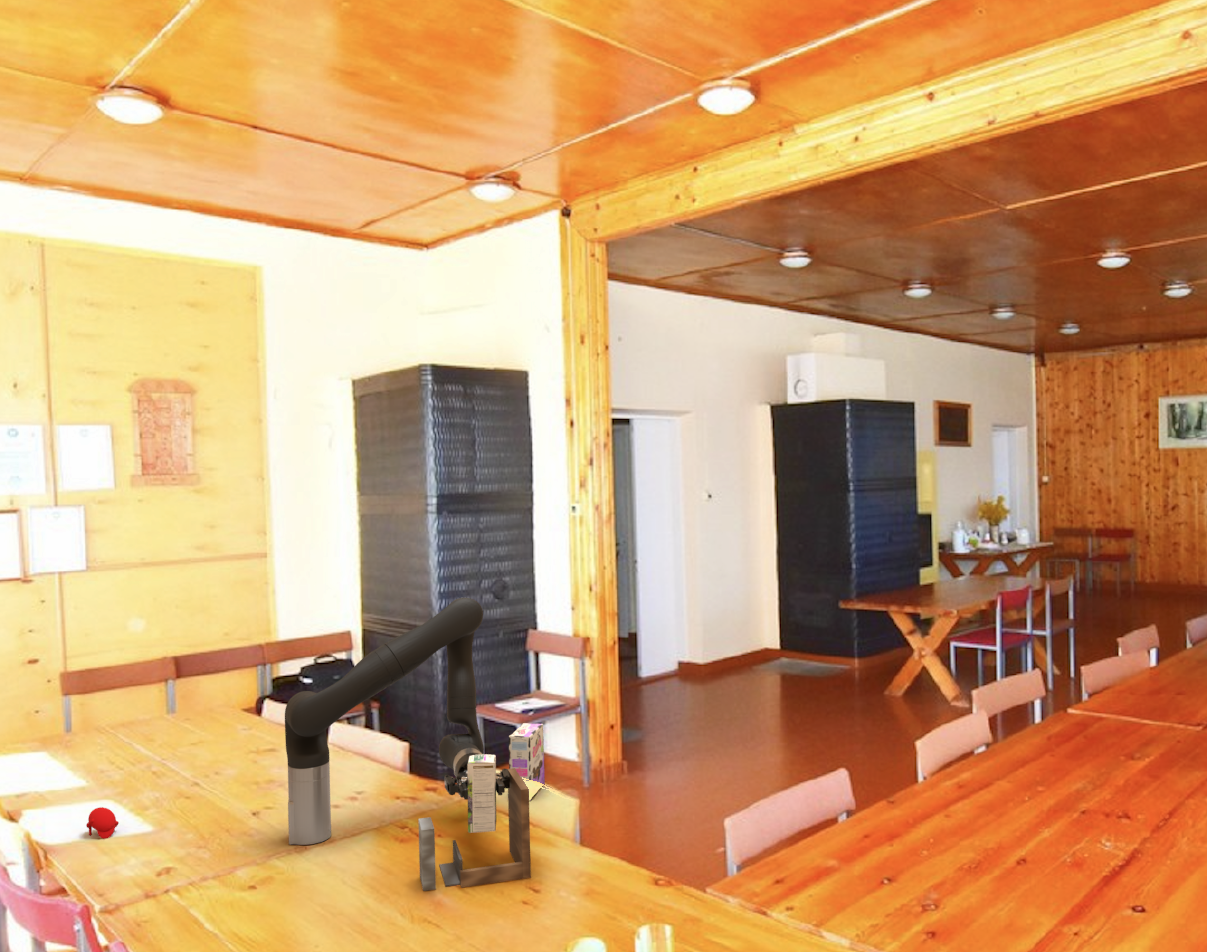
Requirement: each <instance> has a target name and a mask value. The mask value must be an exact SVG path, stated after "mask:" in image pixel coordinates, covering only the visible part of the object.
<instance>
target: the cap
mask: <svg viewBox="0 0 1207 952" xmlns="http://www.w3.org/2000/svg"><path fill="white" fill-rule="evenodd" d="M87 821H88V822H87V823H86V828H87V829H88V836H92V832H93V830H92V829H94V830H96V832H97V836H98V837H99V838H100V839H102V840H103V839H104V840H106V839H109V838H110V837H111V836H112V835H113V834H114V833H115V829H116V828H117V827H118V825H119V824H120V823H119V821H117V818H116V815H115V813H114V812H113V811H112V810H110V808H107V807H103V806H100V807H96V808H94V809H92V811H91V812H89V815H88V819H87Z"/></svg>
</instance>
